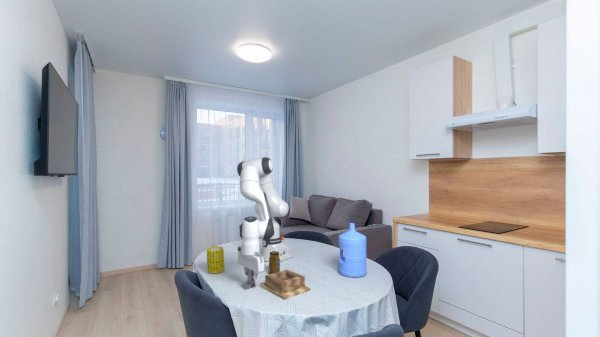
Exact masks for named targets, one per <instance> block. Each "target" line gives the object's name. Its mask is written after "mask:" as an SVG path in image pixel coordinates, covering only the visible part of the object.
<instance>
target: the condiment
mask: <svg viewBox="0 0 600 337" xmlns="http://www.w3.org/2000/svg"><path fill="white" fill-rule="evenodd" d="M268 266H269V267H268V270H269V271H266V274H267V275H269V274H273V273H276V272H280V271H281V261H280V257H279V252H278V251H272V252H270V257H269V261H268Z"/></svg>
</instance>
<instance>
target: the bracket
mask: <svg viewBox="0 0 600 337" xmlns="http://www.w3.org/2000/svg"><path fill="white" fill-rule="evenodd" d="M253 275H254V272H253V271H252V270H250V269H248V268H247V276H246V278H247V279H246V280H247V281H246V282H243V283H241V287H243V289H244V290H246V289H247V290H250V288H251V289H253V287H254V288H255V287H256V280H254V279H253Z"/></svg>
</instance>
